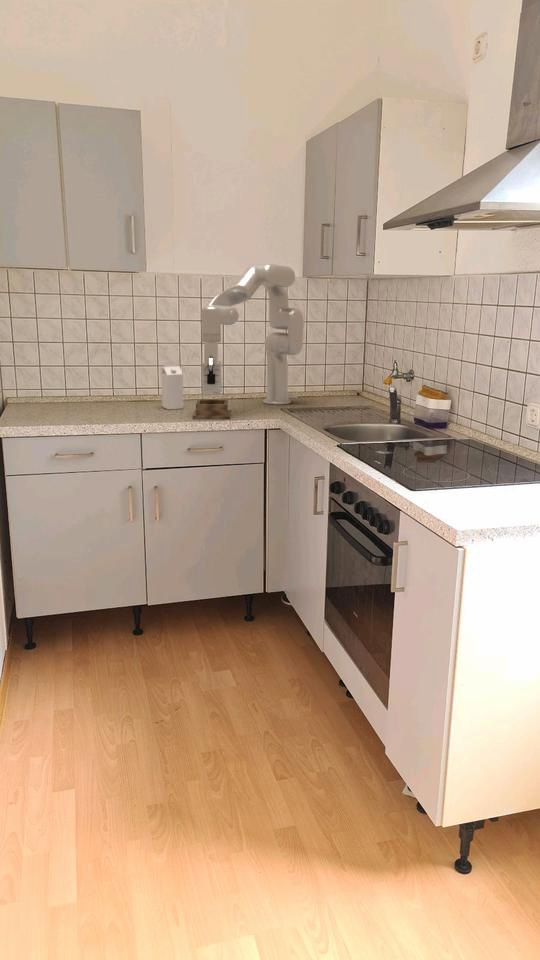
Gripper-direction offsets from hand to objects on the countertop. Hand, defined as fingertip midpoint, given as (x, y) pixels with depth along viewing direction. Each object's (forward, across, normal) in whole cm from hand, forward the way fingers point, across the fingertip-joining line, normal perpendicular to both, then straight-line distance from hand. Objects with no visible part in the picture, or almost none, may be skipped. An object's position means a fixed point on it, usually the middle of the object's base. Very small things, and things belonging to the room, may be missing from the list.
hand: (211, 382), depth 285 cm
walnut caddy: (+14, 0, 0) cm, 14 cm away
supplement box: (+5, 0, 0) cm, 5 cm away
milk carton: (+14, -18, -18) cm, 29 cm away
